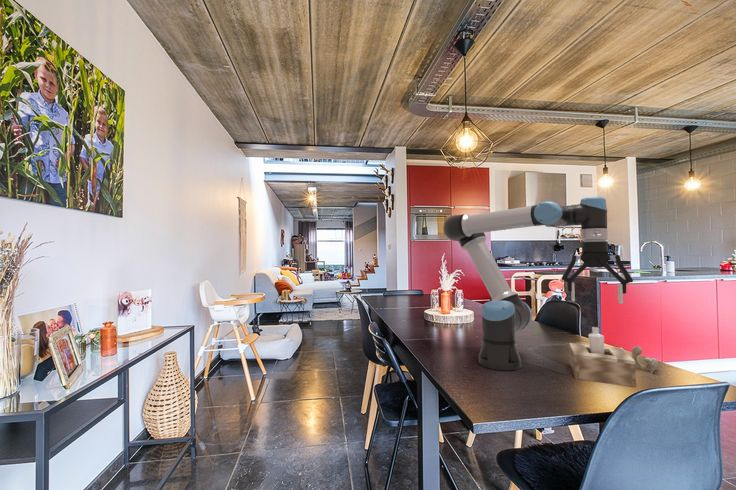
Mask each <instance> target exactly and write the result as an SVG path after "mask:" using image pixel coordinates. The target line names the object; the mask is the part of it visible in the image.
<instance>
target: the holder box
mask: <svg viewBox="0 0 736 490" xmlns="http://www.w3.org/2000/svg"><path fill="white" fill-rule="evenodd" d="M568 344H569V345H568V346H569V364H570V367H571V371H572V373H573V377H574V378H575V379H577V380H582V381H583V380H584V381H590V382H598V383H604V384H611V385H612V384H613V385H619V386H626V387H635V388H637V374H636V370H637V369H636V368H635V360H634V359H633V358H632V356H631V355H630V353H628V352H627V351H626V350H625V349H624V348H623V347H617V346H608V345H607V346H606V345H604V354H594V353H591V350H590V344H587V343H586V344H585V343H576V342H575V343H573V342H569V343H568Z"/></svg>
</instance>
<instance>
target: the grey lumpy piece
mask: <svg viewBox="0 0 736 490" xmlns="http://www.w3.org/2000/svg"><path fill="white" fill-rule="evenodd" d="M642 352H643V349H642V347H641V346H638V345H637V346H633V347H632V349H631V355H632V356H631V357H632V358H633V359H634V360H635V368H636V370H637V369H638V370H645V371H647V372H650V373H651V374H654V371H656V370H658V367H659V365H660V364H659V362H658V360H657V359H656V358H654V357H653V358H650V357H647V356H646V357H645V358H644V361H645V363H646V364H647V365H643V364H641V362H639V361H638V359H637V358H638V356H640V355H641V354H642Z"/></svg>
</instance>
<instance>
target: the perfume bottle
mask: <svg viewBox="0 0 736 490" xmlns="http://www.w3.org/2000/svg"><path fill="white" fill-rule="evenodd" d="M599 329H600V328H599V327H597V326H592V327H591V333H589V334H588V335H587V336H588V343H589V345H590V350H591V353H594V354H604V346H605V336H604V335H603V334H601V333H600V330H599Z"/></svg>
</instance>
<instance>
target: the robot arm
mask: <svg viewBox="0 0 736 490" xmlns="http://www.w3.org/2000/svg"><path fill="white" fill-rule="evenodd" d="M541 226H545V227H546V228H558V227H560V228H561V227H573V226H580V230H581V233H580V235H581V241H583V242H581V255H576V254H573V255H571V259H570V262H569V264H568V266H567V267H566V270H565V271H564V273H563V275H562V276H561V280H562V281H564V282H566V283H567V291H568V292H571V293H570V294H571V299H570V300H571V301H572V302H575V301H576V298H575V297H576V296H575V295H576V294H575V292H576V291H575V282H573V281H574V280H575V279H576V278H577V277H579V275H580V274H581V273H582V272H584V270H585V269H586V268H590V269H593V268H596V269H597V268H598V269H601V268H604V269H605V270H607V272H608V273H610V275H612V276H613V277H614V279H616V280H617V281H618V282H619V283H617V303H619V304H621V305H624V297H623V294H624V295H626V294H627V284H629V283H633V282H634V279H633V278H632V276H631V275H630V273H629V272H628V270H627V269H626V266H625V265H624V264H623V262H622V261H621V256H620V255H619V254H614V255H610V254H609V243H608V241H607V240H608V239H609V238H608V209H607V199H606V198H605V197H603V196H589V197H584V198H583V197H582V198H581V199H580V202H579V204H573V205H572V204H571V205H562V204H559V203H557V202H554V201H542V202H541V203H538V204H534V205H528V206H522V207H516V208H509V209H501V210H498V211H497V210H495V211H491V212H485V213H484V212H483V213H479V214H472V215H470V214H469V213H463V214H454V215H451V216H449V217H447V219H446V220H445V222H444V224H443V227H442V229H443V233H444V235H445V236H446V237H447V238H448V239H449V240H450V241H454V242H458V243H459V245H460V248H461V249H462V250H464V251H467V253H468V254H469V257H470V259H471V261H472V263H473V264H474V266H475V269H476V271H477V273H478V274H479V276H480V278H481V280H482V281H483V284H484V286H485V288H486V289H487V290H486V291H487V292H488V294H489V295H490V296H489V297H490V298H491V300H489V301H487V302H484V304H483V305H482V308H481V325H482V344H481V348H480V351H479V354H478V363H479V365H480V366H482V367H484V368H488V369H491V370H497V371H506V372H507V371H517V370H519V369H521V368H522V360H521V359H522V358H521V357H520V354H519V351H518V348H517V345H516V343H517V342H516V332H517V331H521V330H523V329H526V327H527V326H529V324H530V323H531V321H532V319H533V317H532V316H533V313H532V309H531V308H530V306H529V305H528V304H527V302H525V301H523V300H522V299H521V298H520V296H519V293H517V292H515V291H512V289H511V287H510V285H509V283H508V282H507V280H506V278H505V276H504V275H503V273H502V270H501V269H500V267H499V265H498V263H497V262H496V260H495V258H494V257H493V255H492V253H491V250H490V249H489V247H488V245H487V243H486V241H487V235H486V234H485V233H489V232H496V231H505V230H512V229H521V228H523V229H524V228H531V227H541ZM579 260H581V262H582V264H581V265H580V266H579V268H577V270H575V271H574V272H573V273H572V274H571V275H570V273H571V271H572V270H573V268H574V266H575V264H576V262H578V261H579ZM610 260H611V261H612V262H614V263H615V265H616V266H617V268H618V269H619V271H620V273H621V275H623V277H622V276H621V275H620V274H619V273H618V272H617V271H616V270H615V269H613V268H612V267H611V265H609V264H608V262H609V261H610ZM569 275H570V276H569ZM568 276H569V277H568Z"/></svg>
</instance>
